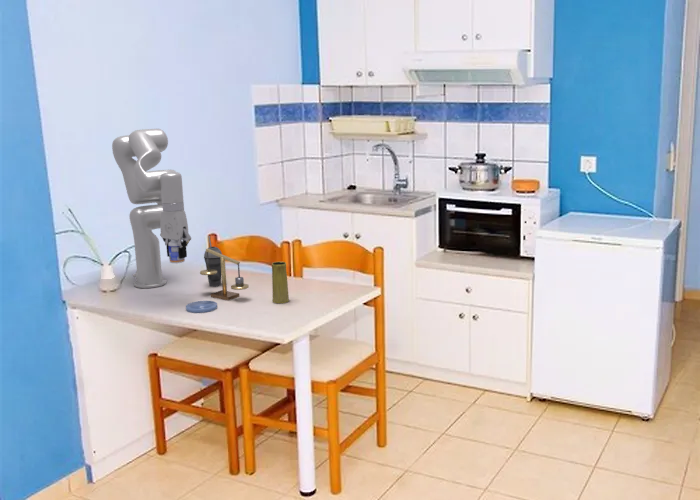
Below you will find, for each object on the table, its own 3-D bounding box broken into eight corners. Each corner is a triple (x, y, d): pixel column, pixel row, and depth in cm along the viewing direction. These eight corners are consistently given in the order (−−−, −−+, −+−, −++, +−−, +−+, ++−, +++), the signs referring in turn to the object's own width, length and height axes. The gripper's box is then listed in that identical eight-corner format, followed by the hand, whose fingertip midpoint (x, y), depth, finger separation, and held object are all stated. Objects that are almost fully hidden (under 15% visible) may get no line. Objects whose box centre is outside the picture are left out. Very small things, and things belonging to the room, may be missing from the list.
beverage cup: (220, 288, 299) (217, 237, 294) (202, 287, 300) (199, 237, 296) (227, 283, 306) (224, 233, 301) (209, 282, 307) (206, 233, 303)
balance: (197, 294, 290) (194, 249, 286) (210, 290, 295) (207, 246, 292) (241, 303, 278) (238, 256, 274) (252, 298, 283) (250, 252, 279)
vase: (276, 304, 275) (274, 266, 272) (269, 300, 280) (267, 262, 277) (291, 302, 278) (290, 263, 275) (285, 298, 283) (283, 260, 280)
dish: (179, 310, 272) (179, 306, 271) (201, 302, 281) (201, 298, 280) (201, 314, 266) (201, 311, 265) (223, 306, 274) (223, 303, 274)
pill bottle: (170, 260, 279) (168, 234, 277) (185, 259, 280) (183, 233, 278) (168, 263, 274) (166, 237, 272) (184, 263, 274) (181, 236, 272)
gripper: (148, 207, 274) (153, 256, 278) (182, 210, 265) (185, 261, 269) (164, 203, 280) (168, 252, 284) (197, 207, 271) (201, 257, 275)
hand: (177, 256), depth 276 cm, fingers closed on pill bottle, 5 cm apart
